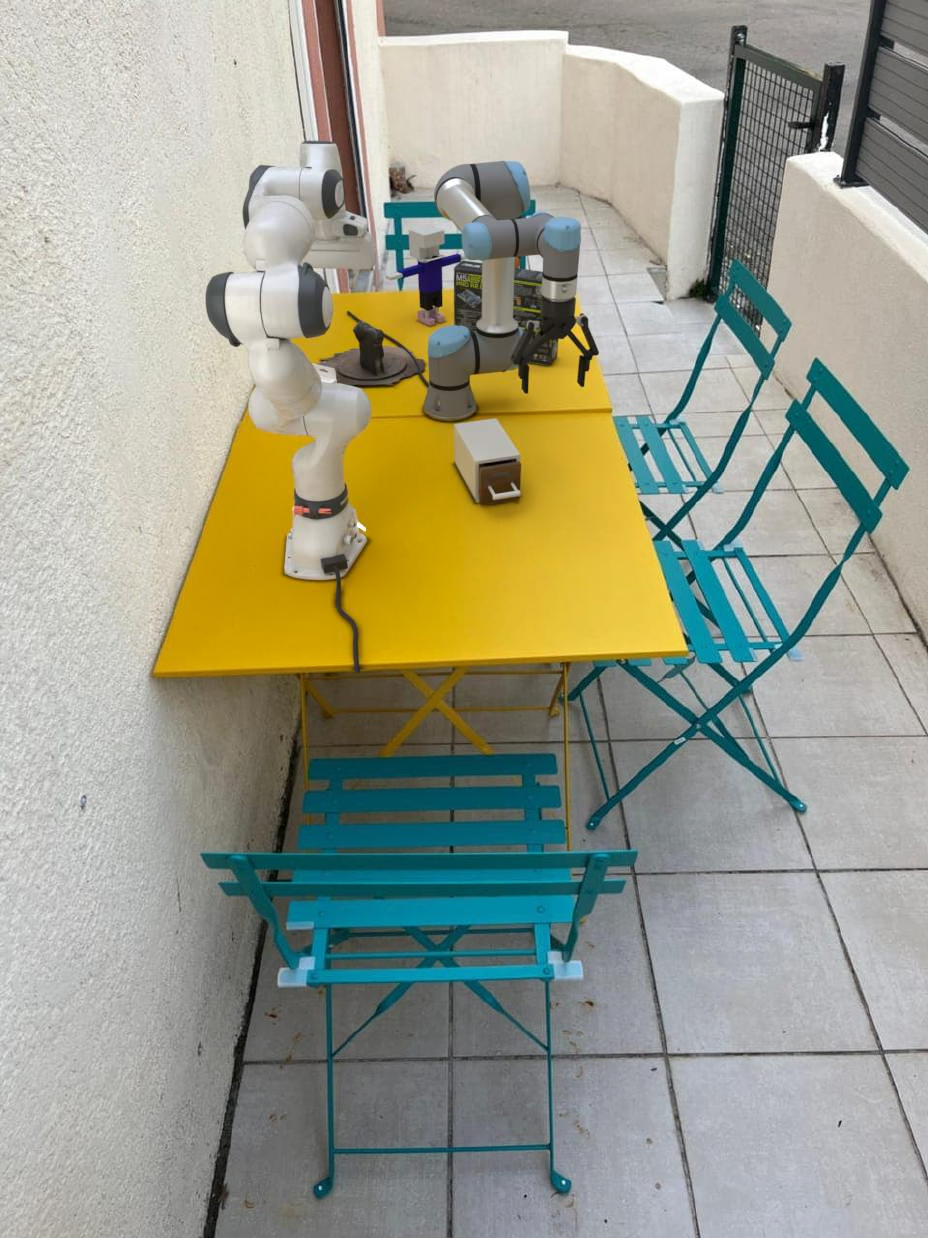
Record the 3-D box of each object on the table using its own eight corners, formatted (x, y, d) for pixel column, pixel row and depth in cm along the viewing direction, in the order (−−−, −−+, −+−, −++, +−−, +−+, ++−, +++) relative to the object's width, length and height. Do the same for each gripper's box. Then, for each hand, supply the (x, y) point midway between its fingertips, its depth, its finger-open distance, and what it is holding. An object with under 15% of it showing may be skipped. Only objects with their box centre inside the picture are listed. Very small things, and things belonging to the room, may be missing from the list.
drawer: (526, 509, 215) (528, 474, 208) (486, 516, 213) (487, 481, 206) (497, 462, 232) (498, 428, 226) (460, 468, 230) (460, 434, 224)
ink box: (306, 417, 253) (300, 368, 244) (316, 410, 257) (310, 362, 247) (331, 424, 250) (326, 375, 241) (341, 416, 254) (336, 368, 244)
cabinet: (518, 496, 221) (520, 454, 214) (475, 503, 219) (475, 461, 211) (495, 458, 236) (496, 417, 228) (454, 464, 233) (453, 423, 226)
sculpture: (406, 397, 263) (403, 345, 252) (297, 384, 270) (290, 333, 259) (437, 352, 287) (436, 303, 277) (336, 341, 294) (331, 293, 284)
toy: (460, 304, 319) (459, 216, 299) (477, 312, 313) (477, 222, 294) (381, 329, 302) (375, 237, 283) (398, 337, 296) (393, 244, 277)
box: (558, 357, 283) (564, 272, 266) (551, 366, 278) (556, 280, 261) (461, 342, 293) (461, 259, 276) (453, 350, 288) (452, 266, 271)
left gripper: (275, 226, 189) (284, 291, 198) (369, 228, 187) (374, 293, 196) (282, 217, 194) (290, 281, 203) (374, 219, 192) (379, 283, 201)
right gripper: (508, 307, 186) (505, 401, 200) (619, 296, 191) (609, 388, 204) (498, 295, 192) (496, 386, 205) (606, 284, 196) (597, 374, 210)
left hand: (332, 287), depth 199 cm, fingers open, 8 cm apart
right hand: (552, 387), depth 205 cm, fingers open, 13 cm apart
